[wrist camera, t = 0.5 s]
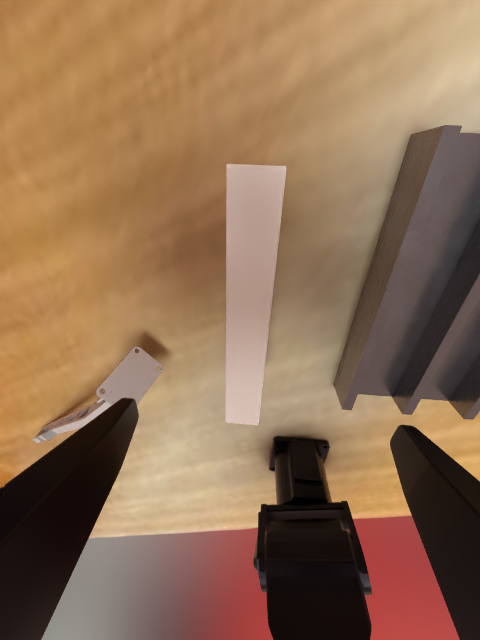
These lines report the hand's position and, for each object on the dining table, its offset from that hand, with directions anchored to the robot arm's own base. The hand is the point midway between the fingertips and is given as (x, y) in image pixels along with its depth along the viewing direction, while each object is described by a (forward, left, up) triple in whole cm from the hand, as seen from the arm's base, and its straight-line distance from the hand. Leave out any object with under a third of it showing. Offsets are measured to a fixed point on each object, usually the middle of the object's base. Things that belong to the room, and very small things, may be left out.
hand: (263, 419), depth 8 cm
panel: (0, +1, -13) cm, 13 cm away
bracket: (-14, +18, -13) cm, 26 cm away
